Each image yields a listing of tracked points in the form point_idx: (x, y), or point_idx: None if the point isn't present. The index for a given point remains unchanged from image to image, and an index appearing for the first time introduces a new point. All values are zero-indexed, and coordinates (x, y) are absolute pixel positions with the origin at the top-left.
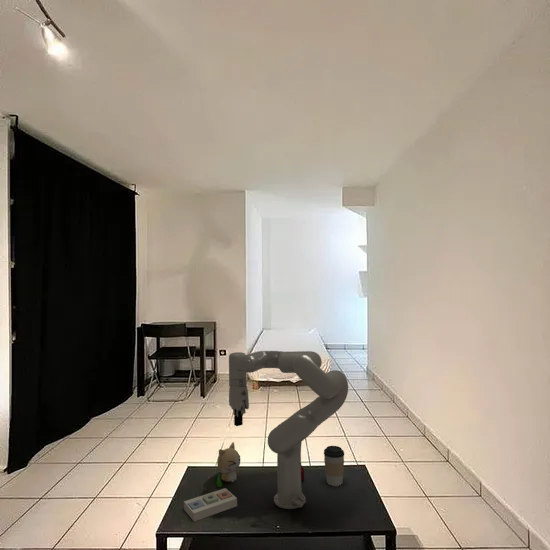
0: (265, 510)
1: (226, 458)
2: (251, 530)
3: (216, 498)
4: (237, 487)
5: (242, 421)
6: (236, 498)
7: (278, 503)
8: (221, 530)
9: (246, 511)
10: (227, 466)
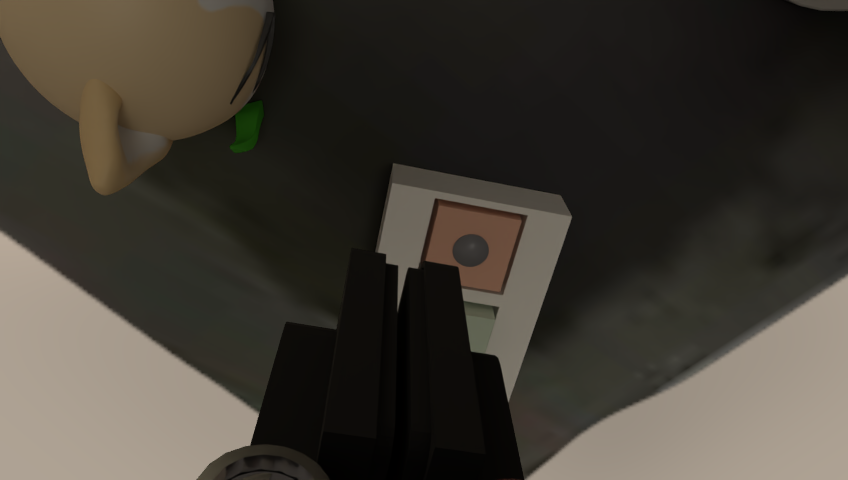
0: (756, 103)
1: (203, 113)
2: (796, 291)
3: (489, 330)
4: (362, 22)
5: (462, 310)
6: (570, 219)
7: (828, 5)
8: (657, 383)
9: (653, 194)
10: (248, 99)
